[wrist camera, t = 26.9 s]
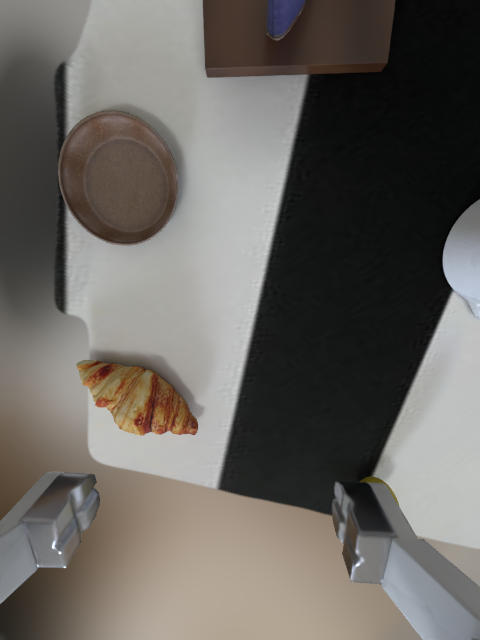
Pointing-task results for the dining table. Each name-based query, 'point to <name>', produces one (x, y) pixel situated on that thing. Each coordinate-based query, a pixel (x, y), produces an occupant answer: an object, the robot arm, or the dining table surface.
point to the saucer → (118, 178)
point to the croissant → (137, 398)
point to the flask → (282, 16)
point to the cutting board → (297, 38)
